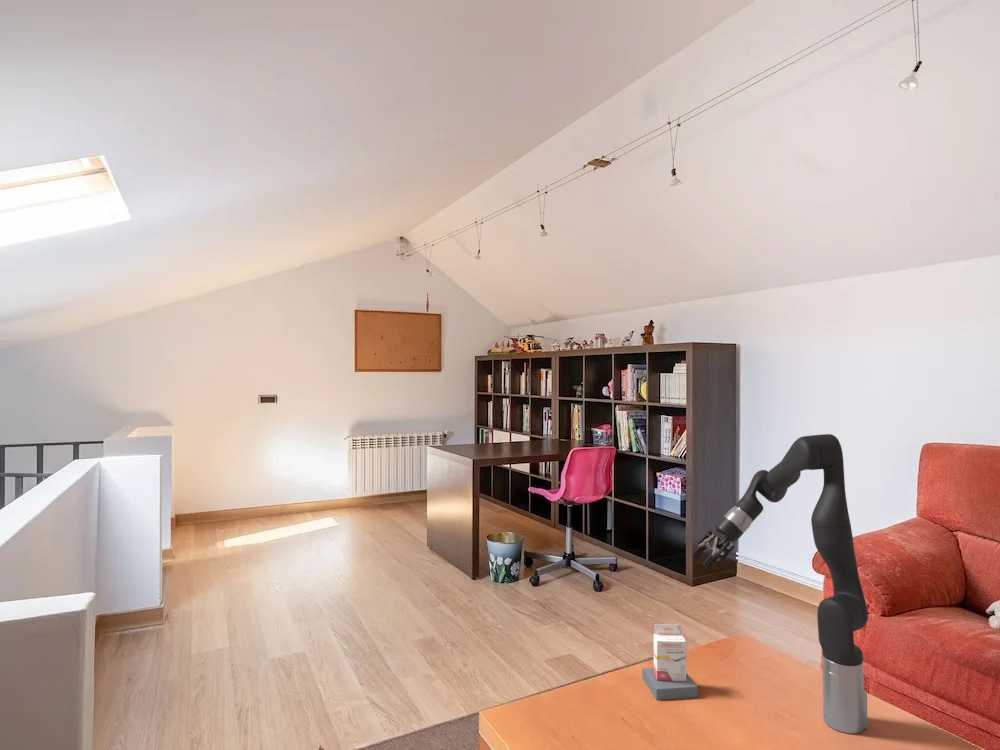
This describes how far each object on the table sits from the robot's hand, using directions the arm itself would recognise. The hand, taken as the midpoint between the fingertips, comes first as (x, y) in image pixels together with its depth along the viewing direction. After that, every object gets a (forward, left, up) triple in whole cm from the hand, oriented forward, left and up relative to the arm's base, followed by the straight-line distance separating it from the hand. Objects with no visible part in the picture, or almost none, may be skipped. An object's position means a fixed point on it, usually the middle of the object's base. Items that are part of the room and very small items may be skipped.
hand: (699, 562), depth 188 cm
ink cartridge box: (+14, +11, -30) cm, 35 cm away
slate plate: (+15, +11, -33) cm, 37 cm away
